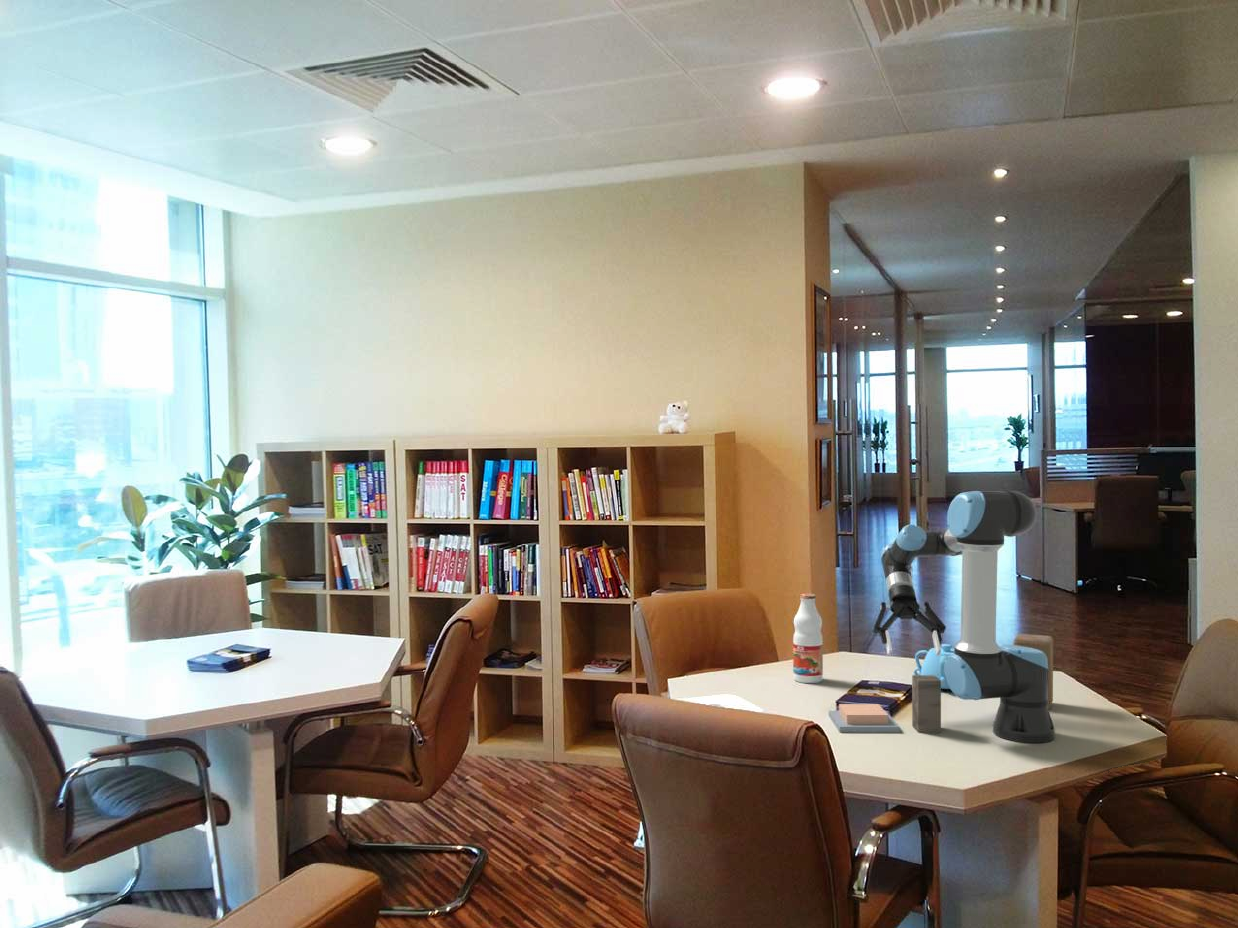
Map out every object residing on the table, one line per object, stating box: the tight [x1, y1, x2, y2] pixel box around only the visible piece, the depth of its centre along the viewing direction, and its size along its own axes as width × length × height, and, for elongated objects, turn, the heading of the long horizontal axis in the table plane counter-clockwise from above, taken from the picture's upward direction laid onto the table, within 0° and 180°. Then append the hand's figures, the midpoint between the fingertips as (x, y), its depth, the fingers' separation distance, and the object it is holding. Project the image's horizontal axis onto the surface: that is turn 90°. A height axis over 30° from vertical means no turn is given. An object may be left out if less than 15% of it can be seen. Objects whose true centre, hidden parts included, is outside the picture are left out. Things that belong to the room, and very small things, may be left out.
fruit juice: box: [792, 593, 824, 684], centre depth 324 cm, size 9×9×28 cm
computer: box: [676, 693, 765, 714], centre depth 285 cm, size 22×22×3 cm
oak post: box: [911, 674, 942, 734], centre depth 268 cm, size 6×6×14 cm
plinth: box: [828, 703, 901, 733], centre depth 274 cm, size 16×16×4 cm
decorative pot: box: [913, 643, 954, 690], centre depth 313 cm, size 16×16×14 cm
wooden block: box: [1013, 633, 1054, 710], centre depth 292 cm, size 10×10×20 cm
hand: (914, 652), depth 280 cm, fingers open, 13 cm apart
